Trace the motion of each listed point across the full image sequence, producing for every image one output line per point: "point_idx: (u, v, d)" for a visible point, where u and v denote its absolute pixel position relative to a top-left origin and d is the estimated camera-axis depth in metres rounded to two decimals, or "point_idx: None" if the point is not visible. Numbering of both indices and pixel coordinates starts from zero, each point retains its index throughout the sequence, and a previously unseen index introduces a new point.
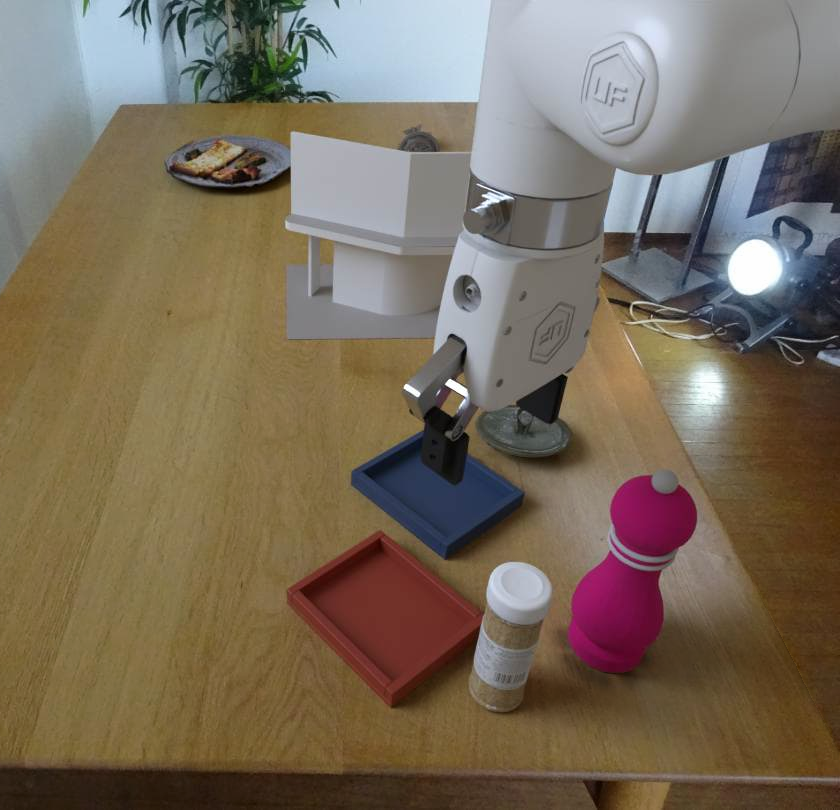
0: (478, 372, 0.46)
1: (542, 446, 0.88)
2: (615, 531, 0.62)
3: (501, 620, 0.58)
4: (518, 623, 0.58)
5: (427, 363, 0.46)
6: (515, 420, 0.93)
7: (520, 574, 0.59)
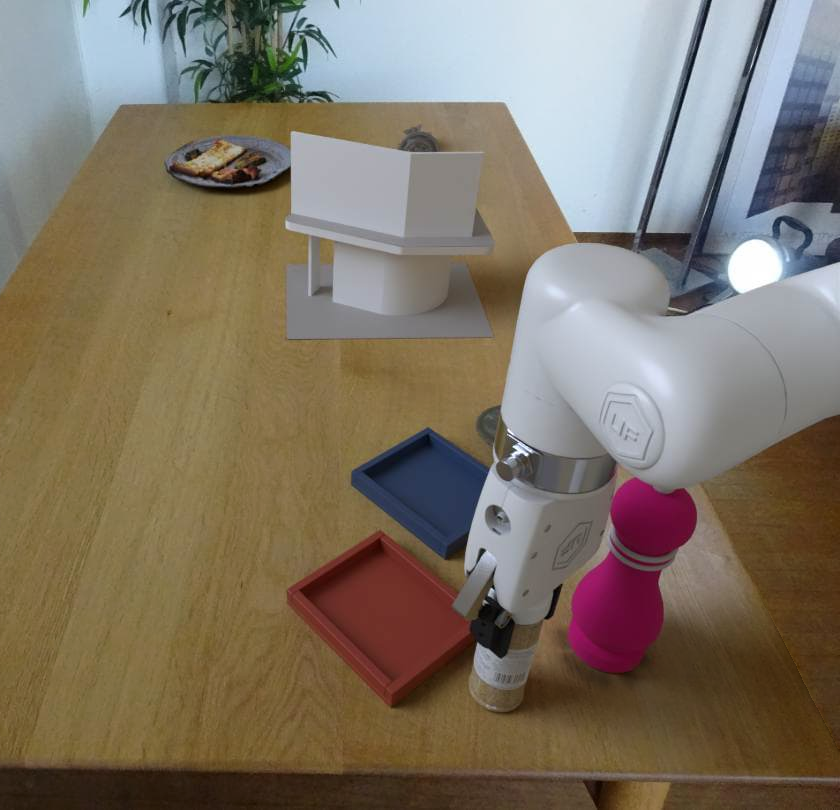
0: (507, 584, 0.51)
1: None
2: (615, 531, 0.62)
3: None
4: (518, 623, 0.58)
5: (467, 583, 0.53)
6: None
7: None
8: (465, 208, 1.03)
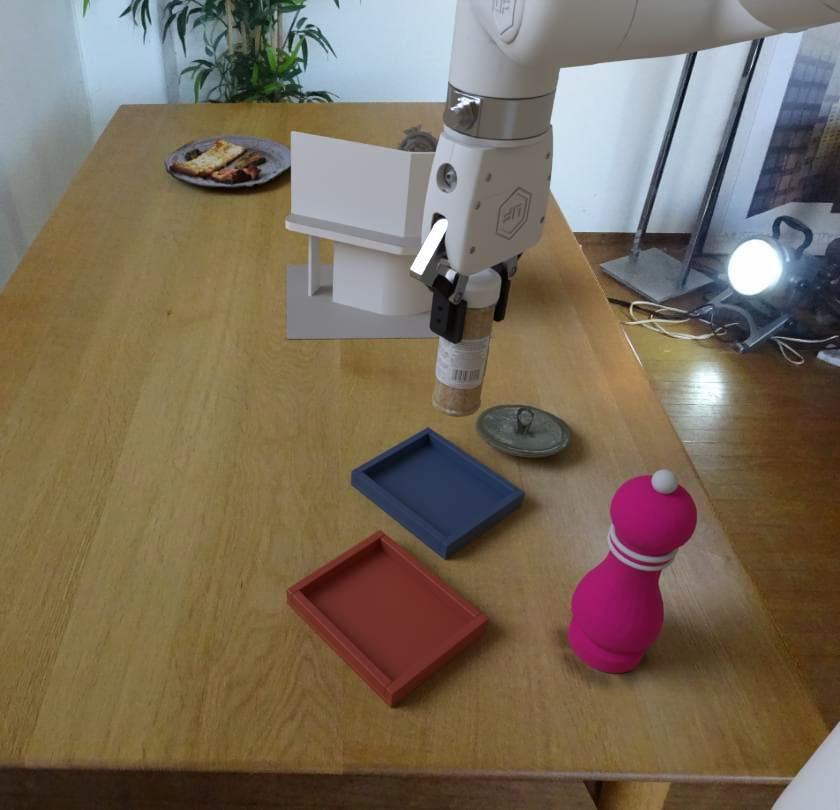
0: (455, 241, 0.59)
1: (542, 446, 0.88)
2: (615, 531, 0.62)
3: None
4: (470, 307, 0.66)
5: (422, 248, 0.61)
6: (515, 420, 0.93)
7: None
8: None
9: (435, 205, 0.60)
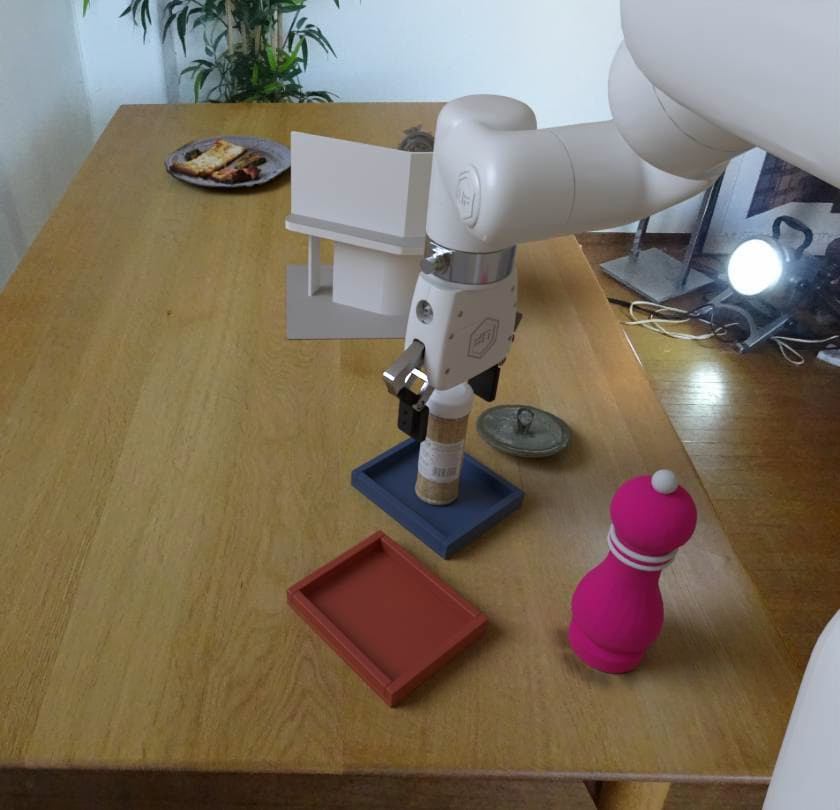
0: (433, 364, 0.69)
1: (542, 446, 0.88)
2: (615, 531, 0.62)
3: (434, 418, 0.76)
4: (446, 418, 0.75)
5: (399, 358, 0.69)
6: (515, 420, 0.93)
7: None
8: None
9: (415, 332, 0.69)
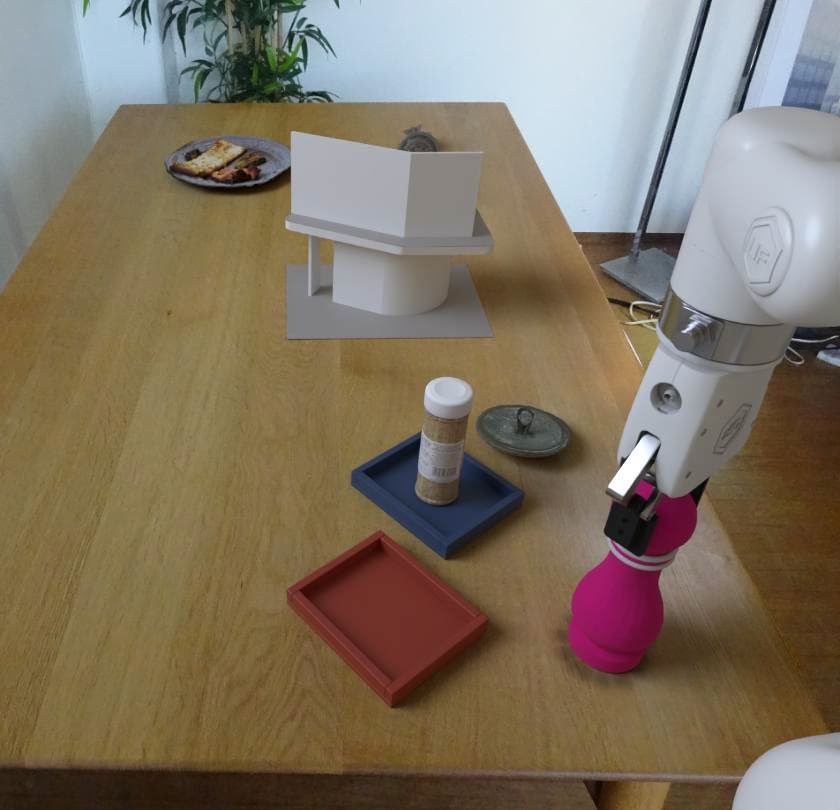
0: (670, 465, 0.51)
1: (542, 446, 0.88)
2: None
3: (434, 418, 0.76)
4: (446, 418, 0.75)
5: (625, 465, 0.53)
6: (515, 421, 0.93)
7: (449, 384, 0.77)
8: (465, 208, 1.03)
9: (645, 423, 0.52)
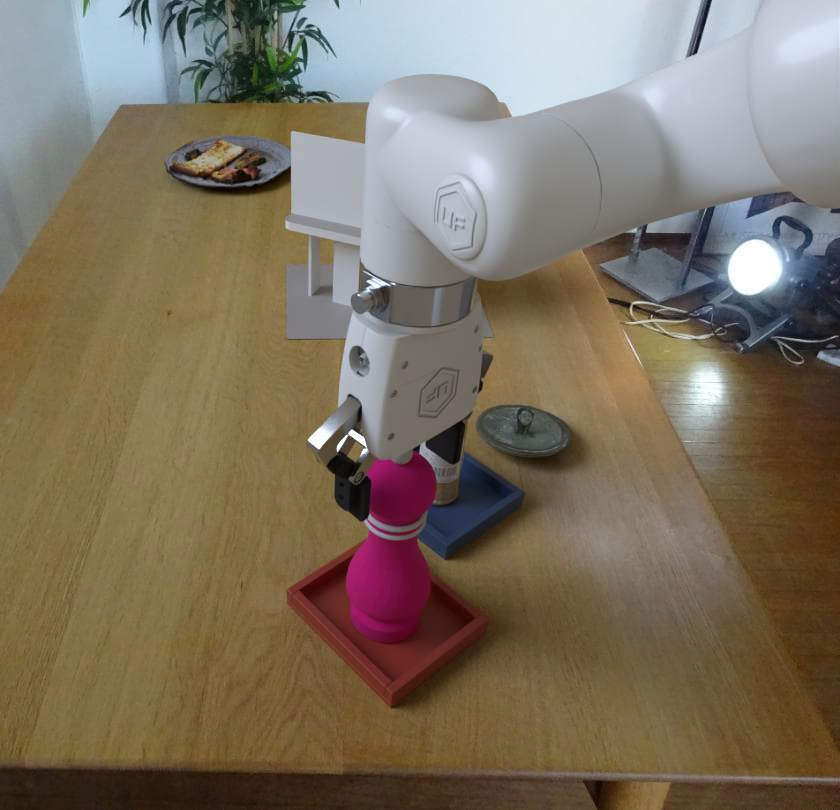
0: (372, 427, 0.53)
1: (542, 446, 0.88)
2: None
3: None
4: None
5: (328, 419, 0.53)
6: (515, 420, 0.93)
7: None
8: None
9: (349, 386, 0.53)
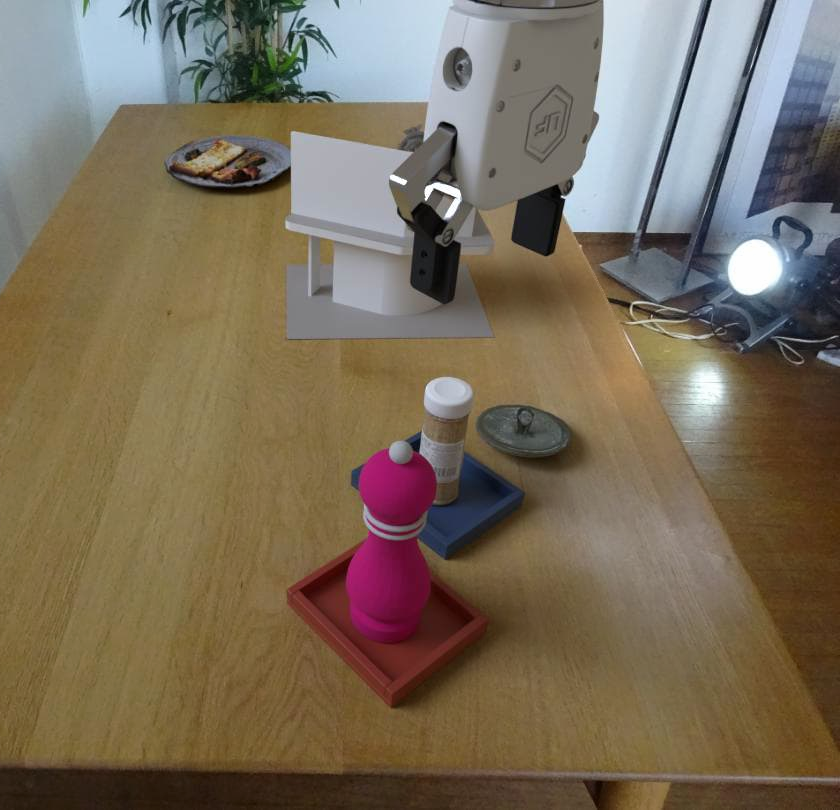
0: (469, 160, 0.43)
1: (542, 446, 0.88)
2: None
3: (434, 418, 0.76)
4: (446, 418, 0.75)
5: (415, 152, 0.43)
6: (515, 421, 0.93)
7: (449, 384, 0.77)
8: None
9: (441, 111, 0.43)
